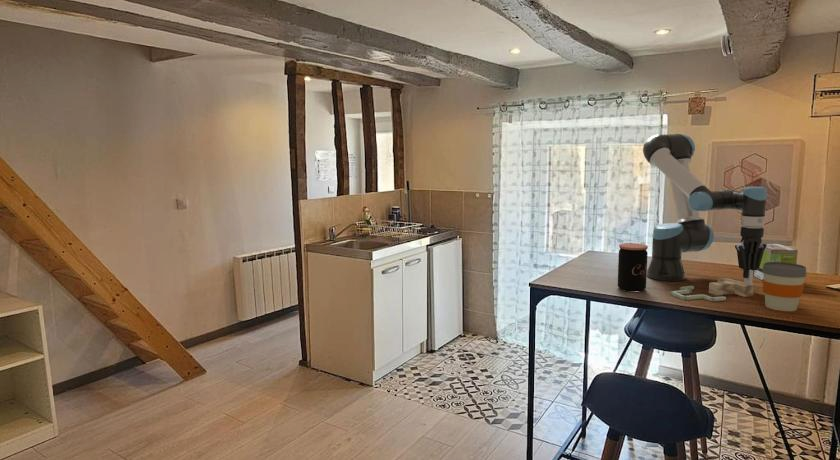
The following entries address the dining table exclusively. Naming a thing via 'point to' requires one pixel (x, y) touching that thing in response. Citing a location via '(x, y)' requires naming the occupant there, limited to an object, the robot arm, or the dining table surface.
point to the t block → (730, 287)
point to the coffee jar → (632, 267)
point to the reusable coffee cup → (783, 285)
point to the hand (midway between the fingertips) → (747, 285)
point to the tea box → (776, 257)
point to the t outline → (689, 290)
